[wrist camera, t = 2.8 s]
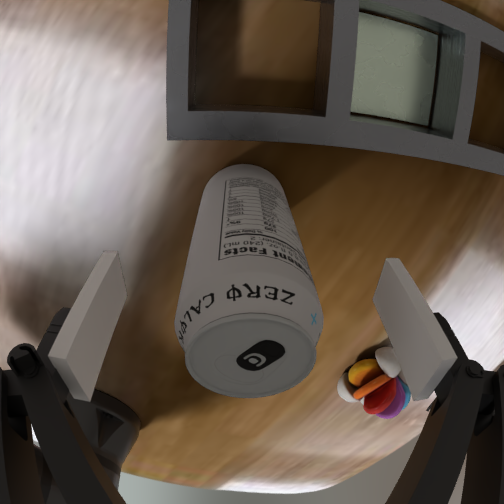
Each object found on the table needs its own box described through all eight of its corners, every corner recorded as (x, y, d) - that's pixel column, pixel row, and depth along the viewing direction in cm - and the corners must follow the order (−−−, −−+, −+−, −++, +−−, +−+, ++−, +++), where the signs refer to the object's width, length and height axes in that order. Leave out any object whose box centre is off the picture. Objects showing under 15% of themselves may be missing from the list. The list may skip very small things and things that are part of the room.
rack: (177, 129, 21) (167, 140, 18) (181, -26, 15) (172, -40, 12) (507, 168, 23) (530, 182, 20) (525, 57, 17) (550, 63, 14)
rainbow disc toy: (378, 333, 33) (399, 385, 27) (418, 357, 36) (438, 401, 30) (325, 375, 37) (336, 426, 30) (371, 392, 40) (384, 436, 34)
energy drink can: (186, 200, 24) (138, 363, 11) (242, 143, 22) (249, 269, 9) (244, 247, 26) (252, 418, 14) (300, 197, 24) (362, 355, 11)
